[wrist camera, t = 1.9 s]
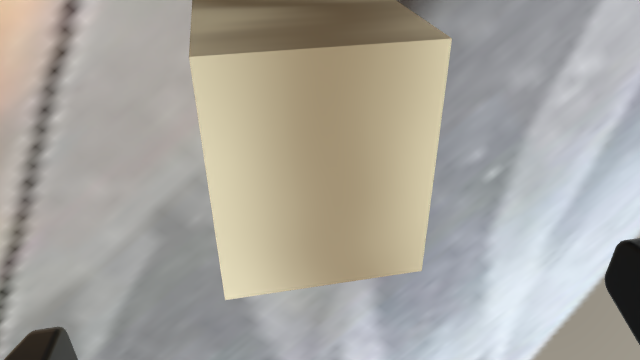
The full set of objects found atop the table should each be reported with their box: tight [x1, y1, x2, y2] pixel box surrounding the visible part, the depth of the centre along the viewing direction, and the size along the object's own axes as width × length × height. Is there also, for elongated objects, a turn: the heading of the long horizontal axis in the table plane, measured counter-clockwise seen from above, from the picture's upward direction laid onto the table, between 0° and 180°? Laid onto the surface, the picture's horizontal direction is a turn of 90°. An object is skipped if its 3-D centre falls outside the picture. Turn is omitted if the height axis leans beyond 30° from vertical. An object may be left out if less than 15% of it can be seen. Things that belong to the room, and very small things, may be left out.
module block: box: [189, 0, 452, 300], centre depth 13 cm, size 5×6×6 cm
